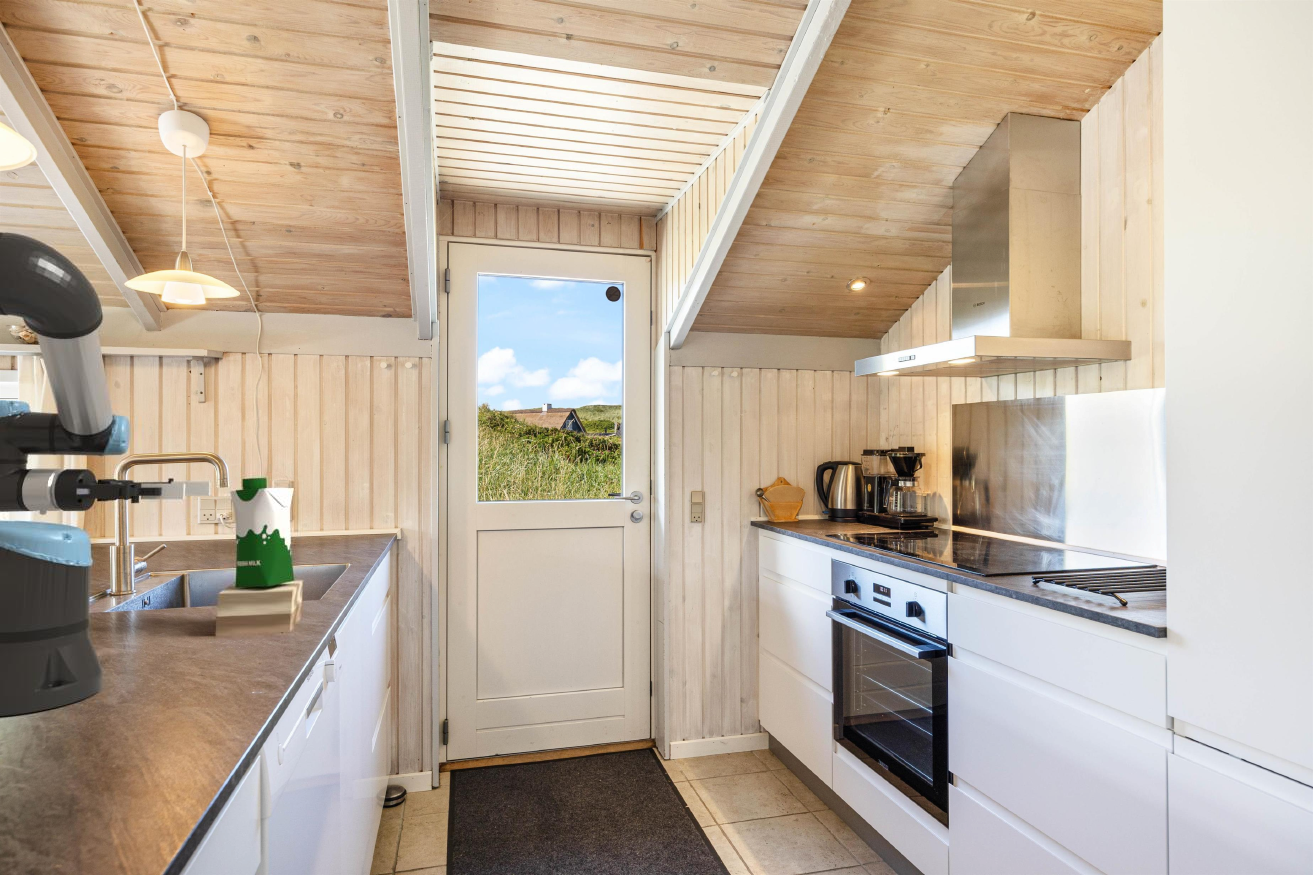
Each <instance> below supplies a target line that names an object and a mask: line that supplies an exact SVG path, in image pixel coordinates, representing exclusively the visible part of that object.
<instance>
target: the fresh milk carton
mask: <svg viewBox="0 0 1313 875" xmlns="http://www.w3.org/2000/svg"><path fill="white" fill-rule="evenodd" d="M267 481H268V480H267V477H251V478H242V481H241V483H242V486H241V487H242V489H235V490H230V497H231V502H232V506H233V509H234V510H233V511H234V517H235V520H234V521H235V545H236V546H235V548H236V549H235V550H236V551H235V552H236V556H235V557H236V558H235V560H236V561H235V562H236V566H235V582H236V585H235V588H238V587H261V586H272V585H277V584H282V583H287V582H291V581H294V580H295V574H294V566H293V559H292V542H291V540H292V539H291V535H292V534H291V505H292V499H293V495H294V490H295V489H294V488H292V487H291V488H290V487H289V488H286V487H268V484H267Z"/></svg>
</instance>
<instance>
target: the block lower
mask: <svg viewBox="0 0 1313 875" xmlns="http://www.w3.org/2000/svg"><path fill="white" fill-rule="evenodd" d="M303 602H304V601H303V599H302V601H301V602H300V604H299V605H298V606H297V607H296V608H295V610H294V611H293V612H292V613H291V614H268V615H244V616H219V617H217V615H216V617H215V637H229V636H250V635H251V636H252V634H253V635H269V634H270V635H273V634H274V633H275V634H282V633H281V632H290V631H291V630H292V631H293V630H294V628H295V627H296V626H297V625H298V623H299V622H300V621H301V620H302V619H301V617H302V618H303ZM300 619H301V620H300ZM299 620H300V621H299ZM298 621H299V622H298ZM297 622H298V623H297ZM296 624H297V625H296ZM295 625H296V626H295ZM294 626H295V627H294ZM292 631H291V632H292ZM291 632H290V633H291Z"/></svg>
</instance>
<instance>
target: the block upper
mask: <svg viewBox="0 0 1313 875" xmlns="http://www.w3.org/2000/svg"><path fill="white" fill-rule="evenodd" d="M303 584H304V580H303V579H294V581H291V582H287V583H282V584H277V585H272V586H261V587H238V588H235V585H236V581H234V582H232V584H230V585H228V586H227V587H226V588H224V589H223V590H222V591H220V592H219V593H217V605H216V606H217V607H216V608H217V611H216V616H217V617H219V616H244V615H268V614H291V613H292V612H293V611H294V610H295V608H296V607H297V606H298V605H299V604H300V602H301V601H302V600H303V589H304V588H303V586H304V585H303Z"/></svg>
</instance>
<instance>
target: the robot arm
mask: <svg viewBox="0 0 1313 875" xmlns="http://www.w3.org/2000/svg"><path fill="white" fill-rule="evenodd" d="M103 314H104V313H103V308H102V304H101V300H100V298H99V295H98V293H97V291H96V289H95V288H94V286H93V285H92V283H91V282H90V281H89V279H88V278H87V276H86V275H85V274H84V273H83V272H82V271H81V270H80V268H79V267H77V265H75V264H74V263H73V262H72V261H71V260H70V259H69V258H67V257H66V256H65V255H64V254H62V253H61V252H59V251H58V250H56V249H55V248H54V247H51V246H50V245H48V244H47V243H44V242H43V241H40V240H38V239H36V238H34V237H30V236H27V235H24V234H19V233H13V232H8V231H7V232H1V231H0V316H11V317H13V316H14V317H18V318H22V319H23V322H24V324H25V326H26V328H28V329H29V330H30V331H31V332H32V333H33V334H35V335H36V338H37V341H38V346H39V349H40V352H41V355H42V360H43V363H44V366H45V371H46V374H47V378H48V381H49V384H50V389H51V392H52V396H53V399H54V402H55V407H56V411H57V413H56V412H55V413H54V412H41V411H40V412H37V411H31V407H30V405H29V403H28V402H26V401H18V400H6V399H5V400H4V399H0V513H7V512H9V513H11V512H38V511H39V514H40V515H41V516H43V515H46V514H47V512H58V511H61V510H62V511H63V512H86V511H88V510H90V509H91V508H92V507H93V505H94V504H95V501H96V502H111V501H117V500H124V501H128V500H130V503H131V504H140V500H185V499H186V496H188V497H193V496H194V497H196V496H197V497H199V496H201V497H202V496H203V497H207V496H209V497H210V496H211V481H174V480H175V479H174V477H173V478H171V477H170V478H168V481H146V482H145V481H141V482H140V481H138V482H137V481H135V482H134V480H131V479H120V480H118V479H116V478H102V479H99V478H98V479H97V478H96V475H95V474H94V472H93V471H91V470H90V469H88V468H80V469H79V468H65V469H63V468H27V464H28V463H29V462H28V461H29V456H33V455H35V456H37V455H38V456H40V455H42V456H48V455H49V456H51V455H52V456H58V455H59V456H91V457H92V456H93V457H104V456H122V455H124V454H126V453H127V452H128V450H129V445H130V437H131V431H130V430H131V426H130V420H129V419H128V418H127V417H126V416H125V415H117V414H116V413H114V414H113V410H112V409H113V408H112V404H111V398H110V393H109V388H108V382H107V376H106V370H105V365H104V360H103V354H102V350H101V349H102V348H101V343H100V336H99V332H98V330H99V329H100V327H101V326H102V324H103V321H104V315H103ZM93 561H94V560H93V559H92V545H91V537H90V535H89V533H88V532H86V530H84V529H83V528H80V527H77V526H74V525H69V524H63V523H62V524H61V523H55V522H46V521H45V522H44V521H31V520H30V521H26V520H0V717H4V716H13V715H22V714H29V713H35V712H40V711H45V710H46V711H47V710H49V709H54V708H57V707H62V706H65V705H69V704H73V703H75V702H79V701H81V700H84V699H87V698H89V697H91V696H93V695H95V694H97V693H98V692H99V691H101V690H102V688H103V687H104V686H103V685H104V670H103V666H102V664H101V661H100V659H99V657H98V654H97V651H96V648H95V646H94V643H93V641H92V638H91V635H90V631H89V630H90V627H89V626H90V601H91V600H90V598H91V597H90V593H91V592H90V591H91V570H92V568H91V567H92V565H93Z"/></svg>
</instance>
